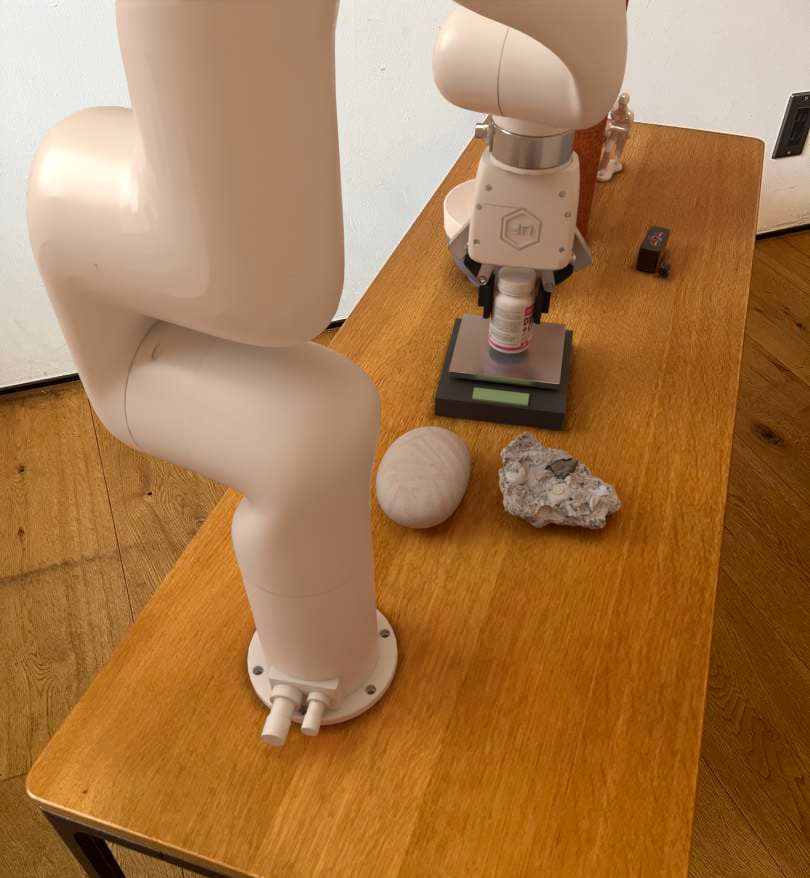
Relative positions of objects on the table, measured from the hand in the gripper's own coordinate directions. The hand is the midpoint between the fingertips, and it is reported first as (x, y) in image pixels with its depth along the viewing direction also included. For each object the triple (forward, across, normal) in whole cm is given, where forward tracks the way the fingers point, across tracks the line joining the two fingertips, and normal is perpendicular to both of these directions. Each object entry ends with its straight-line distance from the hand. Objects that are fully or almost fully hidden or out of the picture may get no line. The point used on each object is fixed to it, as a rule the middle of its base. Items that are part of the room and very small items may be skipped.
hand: (512, 312), depth 85 cm
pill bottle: (+4, 0, 0) cm, 4 cm away
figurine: (+8, +10, +52) cm, 54 cm away
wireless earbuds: (+9, +17, +27) cm, 33 cm away
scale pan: (+5, 0, 0) cm, 5 cm away
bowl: (+9, -3, +21) cm, 23 cm away
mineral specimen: (+9, +7, -20) cm, 23 cm away
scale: (+8, 0, -1) cm, 8 cm away
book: (+8, +2, +40) cm, 41 cm away
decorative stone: (+9, -6, -20) cm, 23 cm away
